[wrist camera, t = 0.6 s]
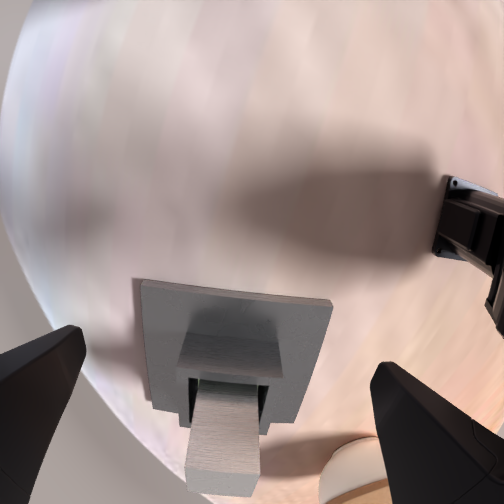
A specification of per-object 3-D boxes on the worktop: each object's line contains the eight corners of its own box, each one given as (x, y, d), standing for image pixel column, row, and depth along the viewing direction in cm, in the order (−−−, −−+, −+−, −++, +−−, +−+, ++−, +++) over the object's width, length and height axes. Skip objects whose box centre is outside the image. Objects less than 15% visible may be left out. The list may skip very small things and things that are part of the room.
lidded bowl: (345, 421, 27) (369, 503, 17) (418, 424, 29) (446, 486, 18) (294, 470, 31) (301, 536, 21) (364, 471, 33) (379, 526, 22)
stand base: (330, 300, 21) (349, 339, 17) (292, 415, 26) (298, 454, 21) (144, 279, 21) (120, 314, 16) (155, 401, 25) (143, 439, 21)
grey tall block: (258, 354, 22) (263, 473, 12) (251, 392, 23) (252, 499, 13) (203, 348, 22) (181, 465, 12) (201, 387, 23) (185, 492, 13)
